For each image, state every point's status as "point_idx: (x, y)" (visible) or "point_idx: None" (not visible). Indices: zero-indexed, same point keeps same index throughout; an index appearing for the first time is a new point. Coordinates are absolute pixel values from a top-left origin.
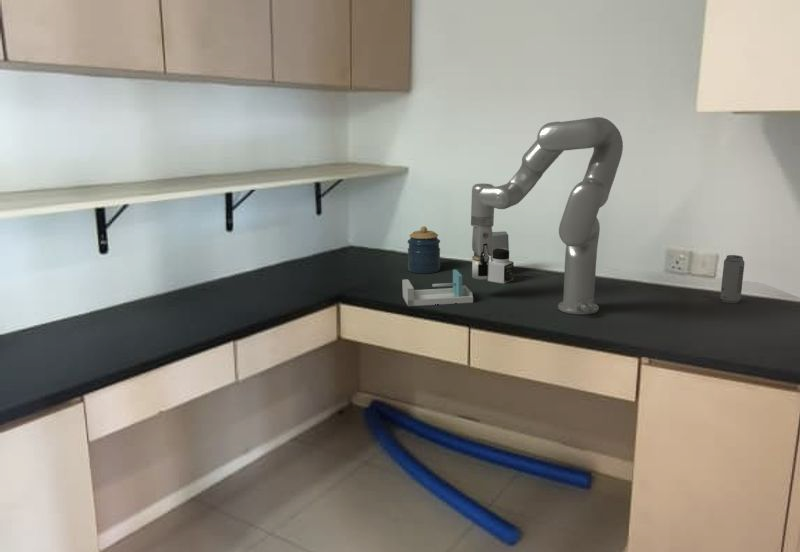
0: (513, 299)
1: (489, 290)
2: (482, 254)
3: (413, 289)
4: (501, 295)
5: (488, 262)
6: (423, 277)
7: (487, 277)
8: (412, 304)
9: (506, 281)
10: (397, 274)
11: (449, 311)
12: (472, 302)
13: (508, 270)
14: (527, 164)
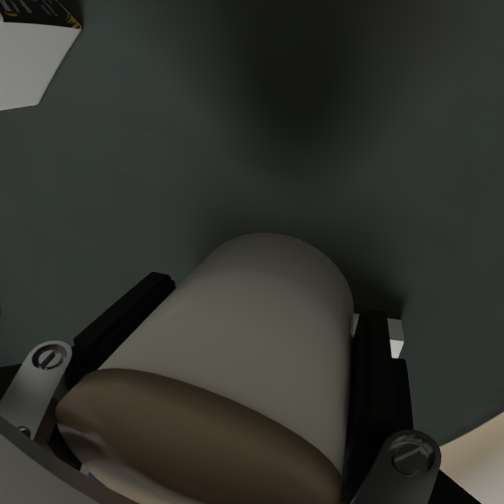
0: (425, 54)
1: (177, 129)
2: (46, 420)
3: None
4: (310, 88)
5: (301, 392)
6: (23, 318)
7: (333, 269)
8: None
9: (69, 16)
10: (19, 356)
11: (453, 428)
12: (400, 323)
13: (20, 2)
14: None
